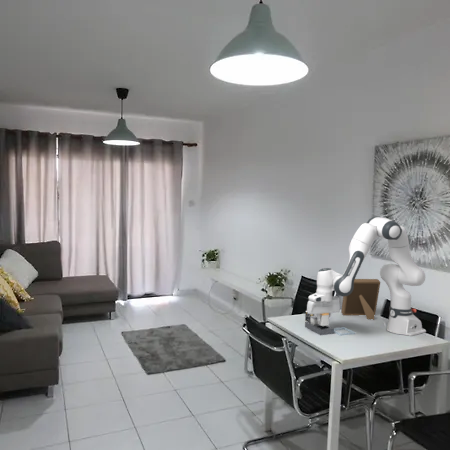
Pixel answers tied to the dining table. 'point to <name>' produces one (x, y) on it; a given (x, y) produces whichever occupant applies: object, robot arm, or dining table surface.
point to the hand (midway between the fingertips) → (323, 320)
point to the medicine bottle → (308, 316)
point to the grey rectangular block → (314, 320)
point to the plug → (324, 319)
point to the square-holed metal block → (319, 328)
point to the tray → (343, 333)
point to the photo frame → (362, 298)
